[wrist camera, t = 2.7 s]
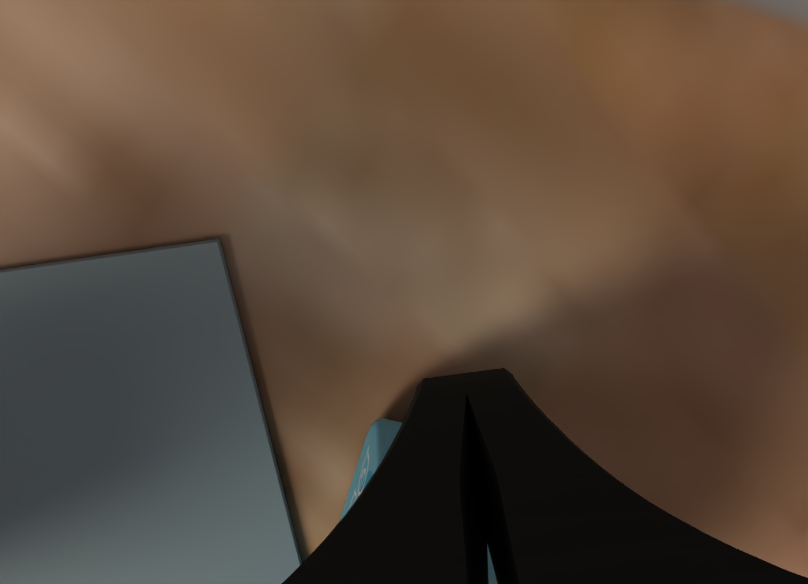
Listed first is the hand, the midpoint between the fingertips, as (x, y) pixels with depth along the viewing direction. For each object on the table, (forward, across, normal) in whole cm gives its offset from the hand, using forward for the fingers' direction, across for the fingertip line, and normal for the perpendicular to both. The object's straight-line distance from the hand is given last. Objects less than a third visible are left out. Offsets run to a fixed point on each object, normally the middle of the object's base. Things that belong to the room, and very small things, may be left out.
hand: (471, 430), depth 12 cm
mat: (+10, +12, +12) cm, 20 cm away
